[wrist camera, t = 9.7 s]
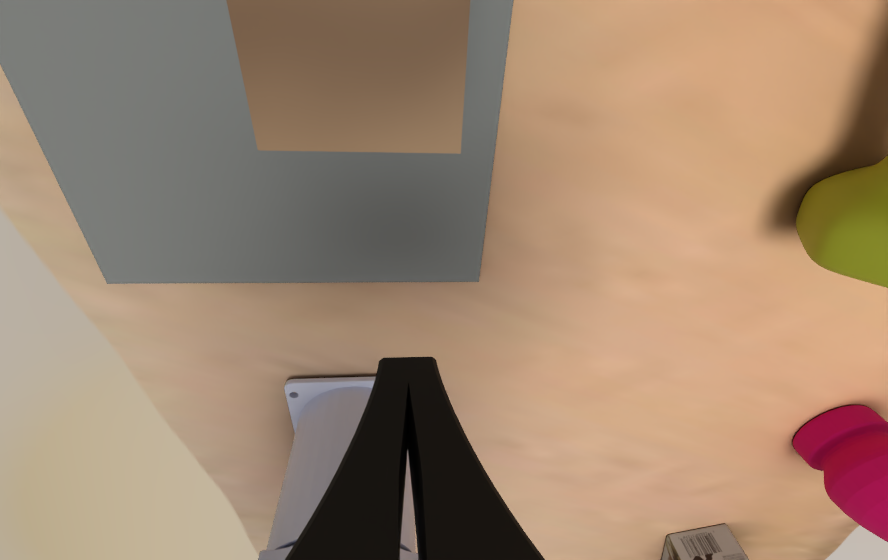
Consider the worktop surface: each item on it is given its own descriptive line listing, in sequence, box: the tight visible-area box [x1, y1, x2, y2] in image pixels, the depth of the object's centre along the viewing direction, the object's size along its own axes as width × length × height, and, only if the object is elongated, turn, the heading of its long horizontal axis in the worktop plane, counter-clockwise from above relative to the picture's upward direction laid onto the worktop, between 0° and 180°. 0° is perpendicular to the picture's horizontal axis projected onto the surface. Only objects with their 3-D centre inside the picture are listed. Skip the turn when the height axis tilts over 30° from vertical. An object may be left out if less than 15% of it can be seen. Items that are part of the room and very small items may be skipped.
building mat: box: [0, 0, 513, 284], centre depth 16 cm, size 15×18×1 cm
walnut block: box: [226, 0, 470, 154], centre depth 10 cm, size 4×4×4 cm
